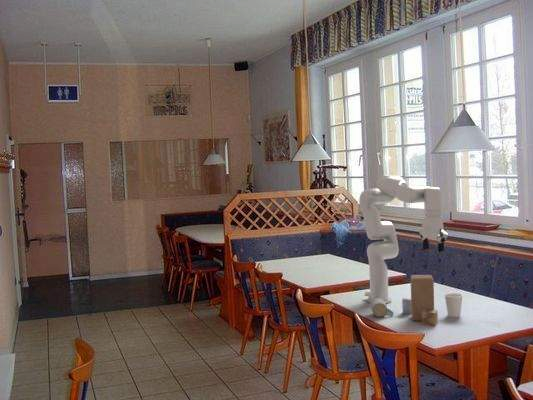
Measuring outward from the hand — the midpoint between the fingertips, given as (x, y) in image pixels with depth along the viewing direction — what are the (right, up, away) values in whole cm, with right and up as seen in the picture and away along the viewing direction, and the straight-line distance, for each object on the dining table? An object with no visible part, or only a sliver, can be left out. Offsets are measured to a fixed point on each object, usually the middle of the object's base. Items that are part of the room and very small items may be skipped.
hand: (433, 250), depth 282 cm
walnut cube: (-4, -33, -10) cm, 34 cm away
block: (-5, -32, 0) cm, 33 cm away
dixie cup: (+10, -31, +3) cm, 33 cm away
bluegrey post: (-9, -32, +11) cm, 35 cm away
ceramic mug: (-22, -33, +9) cm, 40 cm away
